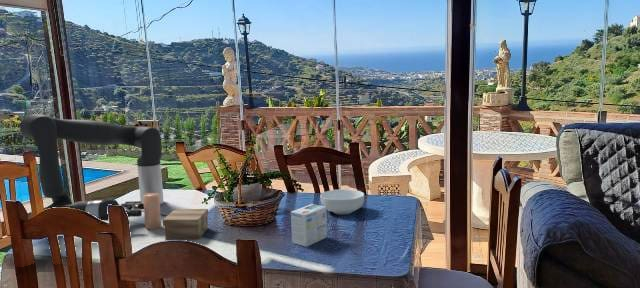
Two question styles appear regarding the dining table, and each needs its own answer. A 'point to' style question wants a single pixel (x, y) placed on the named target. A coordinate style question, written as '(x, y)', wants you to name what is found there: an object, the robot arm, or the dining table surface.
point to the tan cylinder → (152, 210)
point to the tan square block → (185, 224)
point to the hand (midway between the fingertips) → (146, 209)
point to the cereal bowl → (342, 200)
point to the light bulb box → (309, 224)
